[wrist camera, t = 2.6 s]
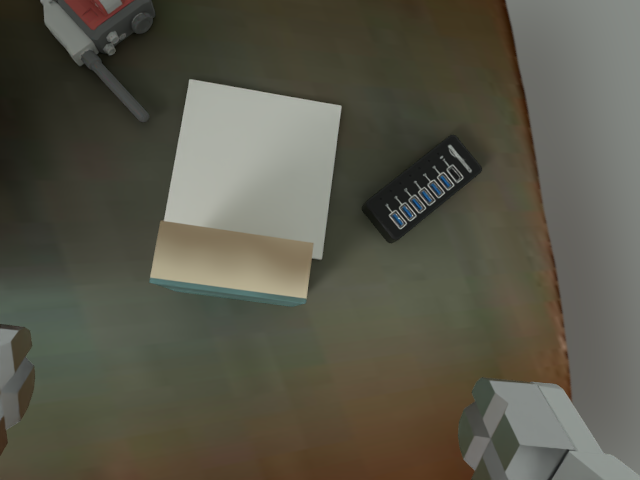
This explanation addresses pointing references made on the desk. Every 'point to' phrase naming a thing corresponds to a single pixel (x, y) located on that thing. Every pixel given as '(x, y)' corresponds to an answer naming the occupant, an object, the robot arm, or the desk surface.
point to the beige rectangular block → (231, 264)
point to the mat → (254, 163)
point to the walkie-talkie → (99, 34)
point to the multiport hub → (421, 189)
